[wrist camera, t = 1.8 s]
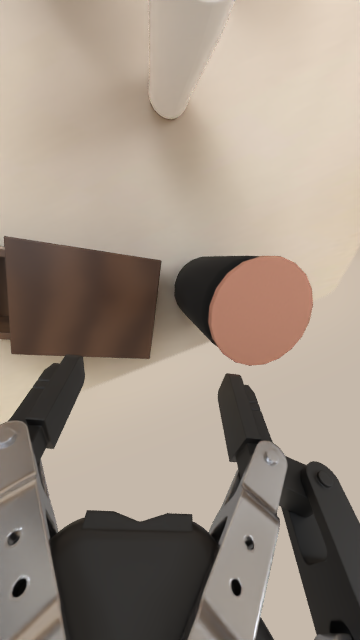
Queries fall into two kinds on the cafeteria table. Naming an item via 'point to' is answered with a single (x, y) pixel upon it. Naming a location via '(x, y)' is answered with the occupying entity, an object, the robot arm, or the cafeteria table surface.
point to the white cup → (181, 48)
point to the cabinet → (79, 300)
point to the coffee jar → (246, 304)
